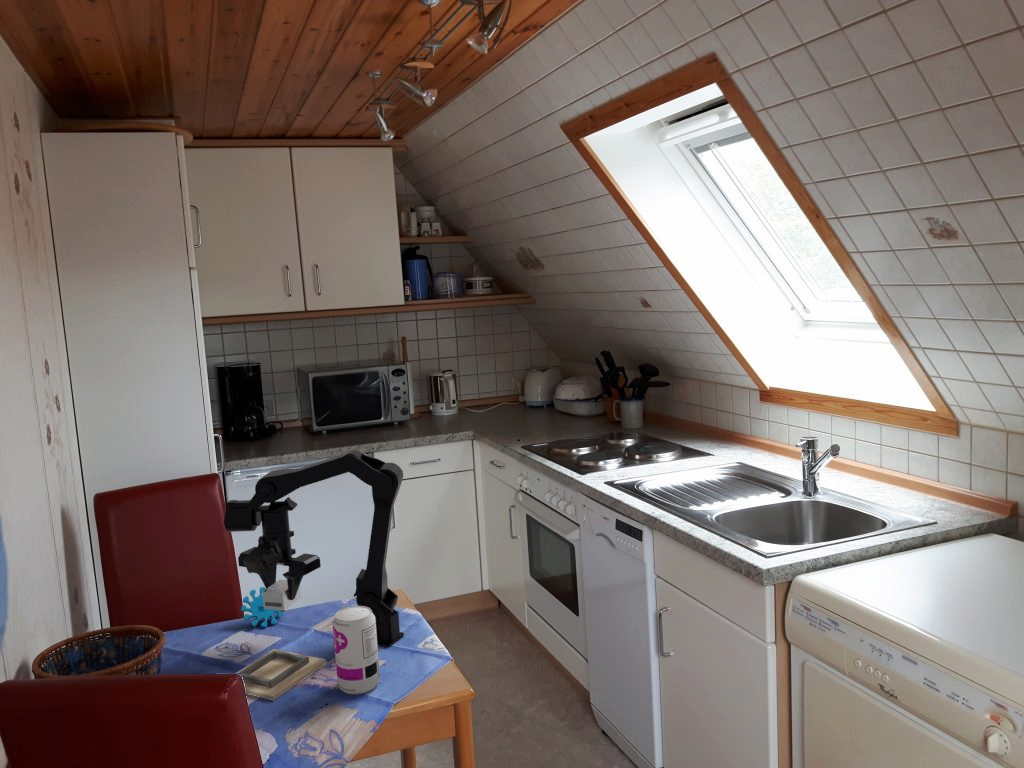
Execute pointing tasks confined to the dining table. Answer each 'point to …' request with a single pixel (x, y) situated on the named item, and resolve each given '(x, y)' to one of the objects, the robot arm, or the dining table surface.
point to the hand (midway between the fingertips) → (282, 597)
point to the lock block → (279, 596)
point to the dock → (278, 672)
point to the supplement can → (356, 650)
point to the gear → (259, 610)
